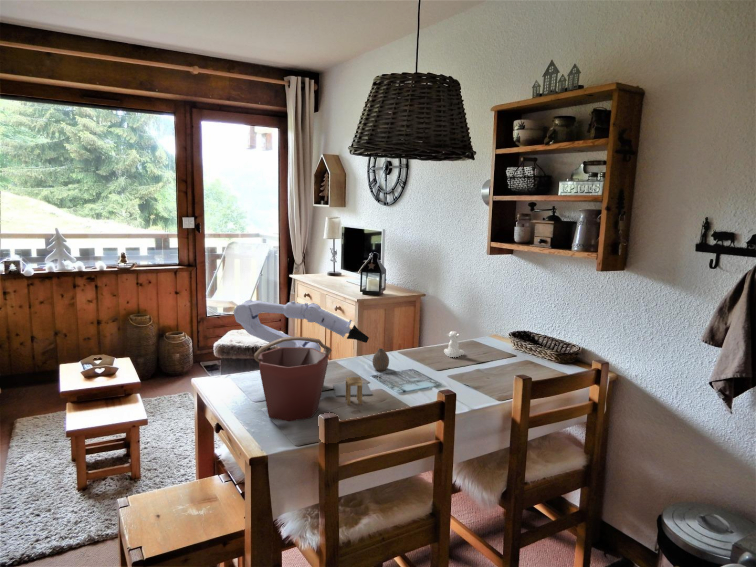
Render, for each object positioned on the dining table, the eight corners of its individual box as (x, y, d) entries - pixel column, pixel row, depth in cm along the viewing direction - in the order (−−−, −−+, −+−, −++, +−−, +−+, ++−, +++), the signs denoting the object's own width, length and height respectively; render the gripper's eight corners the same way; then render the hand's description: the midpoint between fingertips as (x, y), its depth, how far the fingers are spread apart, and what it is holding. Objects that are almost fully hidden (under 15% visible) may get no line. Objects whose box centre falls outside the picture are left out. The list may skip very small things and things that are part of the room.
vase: (387, 373, 208) (387, 352, 207) (370, 371, 209) (371, 350, 208) (390, 367, 215) (390, 347, 213) (374, 366, 216) (374, 346, 215)
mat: (336, 396, 181) (336, 395, 181) (333, 385, 192) (333, 384, 192) (372, 395, 184) (372, 393, 184) (367, 384, 194) (367, 382, 194)
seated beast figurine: (464, 354, 237) (466, 329, 235) (463, 359, 228) (464, 333, 227) (444, 352, 239) (445, 327, 237) (442, 357, 231) (443, 332, 229)
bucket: (331, 398, 180) (333, 330, 176) (327, 426, 158) (329, 348, 154) (261, 397, 179) (261, 328, 175) (248, 425, 157) (247, 346, 153)
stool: (347, 404, 175) (347, 382, 173) (345, 399, 180) (345, 377, 178) (361, 404, 176) (362, 382, 174) (359, 398, 180) (360, 377, 179)
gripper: (338, 313, 181) (373, 330, 181) (340, 314, 196) (372, 330, 196) (329, 331, 181) (364, 348, 180) (331, 331, 195) (363, 347, 195)
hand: (367, 340), depth 188 cm, fingers open, 7 cm apart
